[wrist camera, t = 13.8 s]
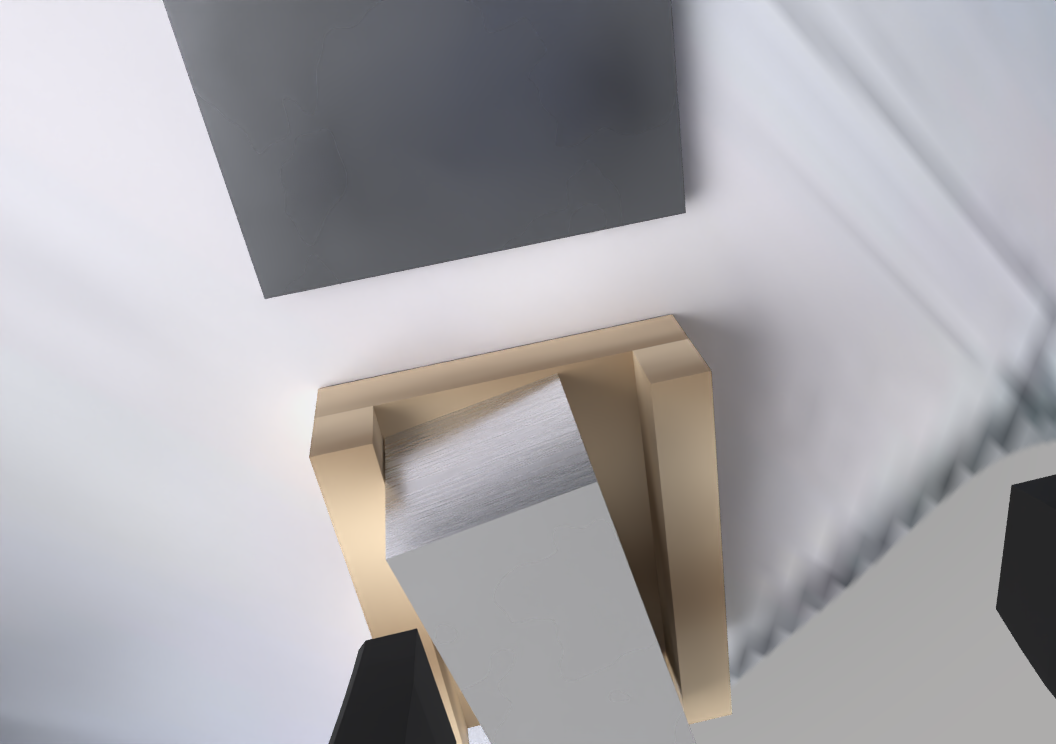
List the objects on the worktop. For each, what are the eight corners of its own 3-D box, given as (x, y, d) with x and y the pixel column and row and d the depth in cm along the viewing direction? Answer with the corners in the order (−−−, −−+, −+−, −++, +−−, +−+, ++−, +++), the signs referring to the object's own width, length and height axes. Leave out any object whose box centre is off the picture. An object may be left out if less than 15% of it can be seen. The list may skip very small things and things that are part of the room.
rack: (318, 388, 18) (309, 457, 16) (672, 314, 19) (711, 370, 17) (420, 701, 23) (424, 787, 21) (698, 637, 24) (731, 714, 22)
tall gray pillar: (384, 437, 18) (385, 559, 15) (557, 372, 18) (597, 481, 14) (524, 705, 22) (549, 844, 19) (663, 656, 22) (712, 788, 19)
